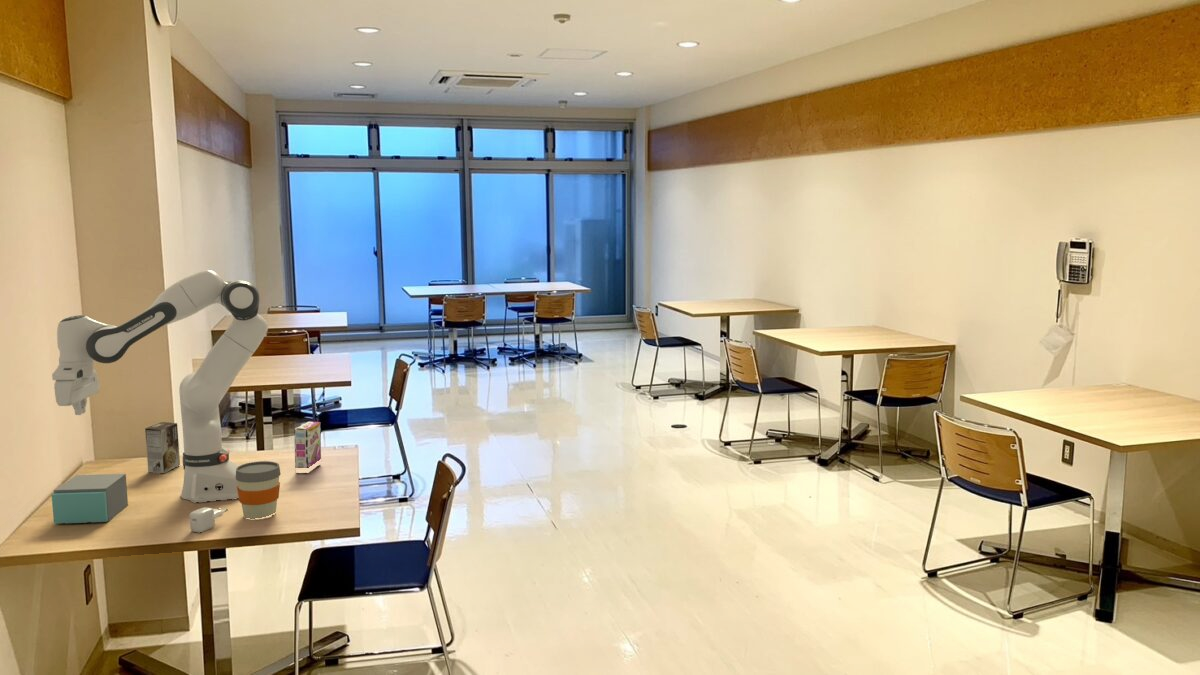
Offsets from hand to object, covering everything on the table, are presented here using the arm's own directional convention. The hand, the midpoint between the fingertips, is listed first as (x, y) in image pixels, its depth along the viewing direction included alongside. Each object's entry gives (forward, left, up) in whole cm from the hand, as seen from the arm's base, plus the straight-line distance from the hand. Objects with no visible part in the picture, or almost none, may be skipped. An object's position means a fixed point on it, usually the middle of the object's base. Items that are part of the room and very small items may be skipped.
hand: (80, 414), depth 249 cm
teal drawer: (-5, +10, -28) cm, 30 cm away
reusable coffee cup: (-54, +14, -29) cm, 63 cm away
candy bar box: (-60, -31, -29) cm, 74 cm away
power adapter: (-42, +22, -29) cm, 56 cm away
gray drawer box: (-5, +8, -29) cm, 31 cm away
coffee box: (-10, -36, -29) cm, 48 cm away
